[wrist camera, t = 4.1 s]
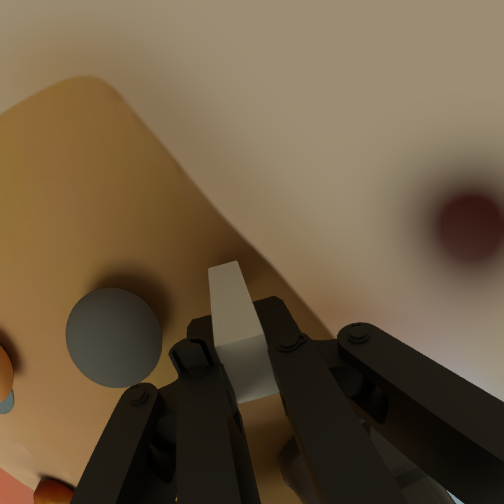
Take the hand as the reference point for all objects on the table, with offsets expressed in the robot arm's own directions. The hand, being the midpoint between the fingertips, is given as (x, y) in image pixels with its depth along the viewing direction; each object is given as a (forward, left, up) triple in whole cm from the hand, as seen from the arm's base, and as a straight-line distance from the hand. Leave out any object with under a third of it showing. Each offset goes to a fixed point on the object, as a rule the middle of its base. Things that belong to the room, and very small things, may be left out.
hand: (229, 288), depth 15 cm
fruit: (+11, +40, -2) cm, 42 cm away
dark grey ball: (+5, +5, +1) cm, 7 cm away
